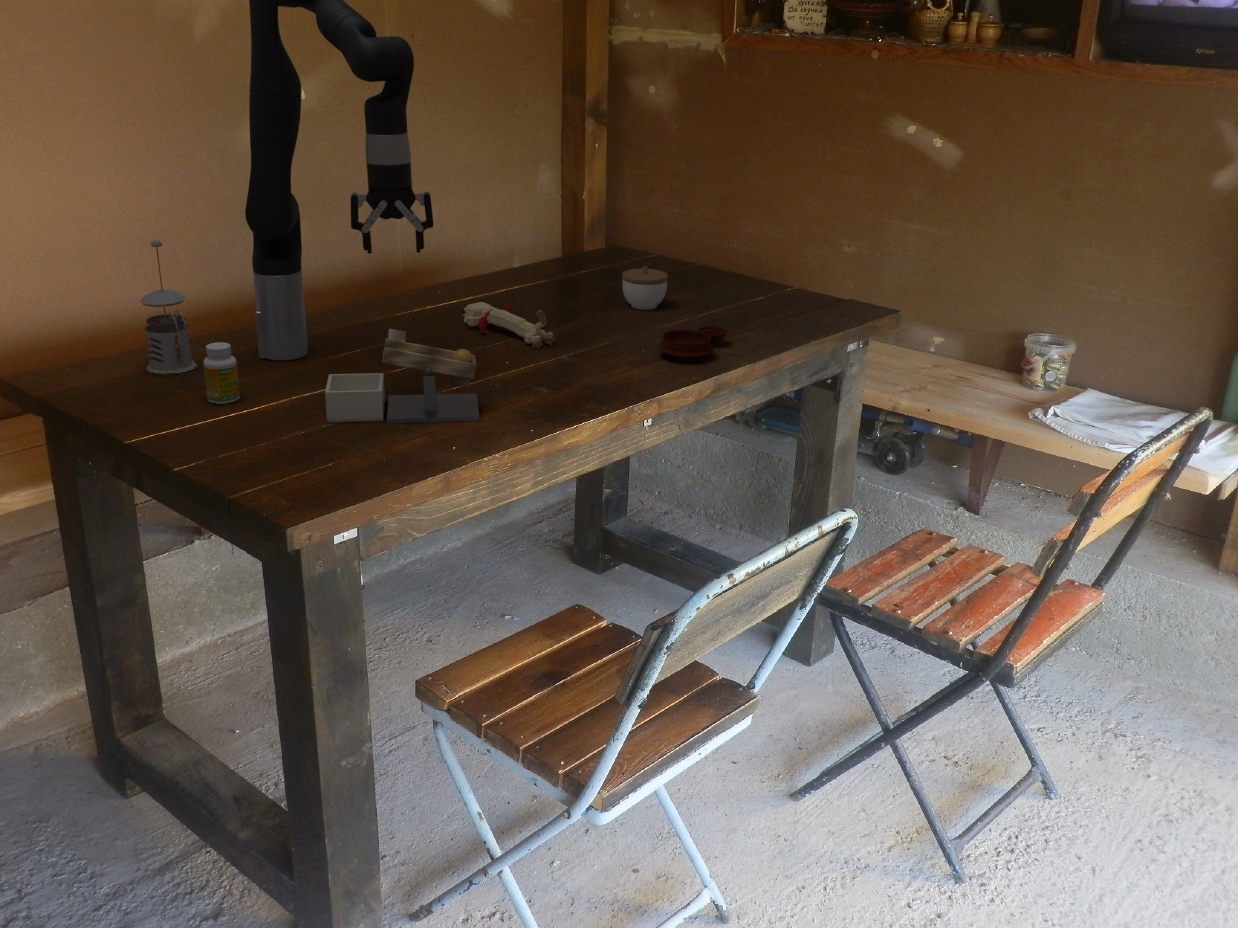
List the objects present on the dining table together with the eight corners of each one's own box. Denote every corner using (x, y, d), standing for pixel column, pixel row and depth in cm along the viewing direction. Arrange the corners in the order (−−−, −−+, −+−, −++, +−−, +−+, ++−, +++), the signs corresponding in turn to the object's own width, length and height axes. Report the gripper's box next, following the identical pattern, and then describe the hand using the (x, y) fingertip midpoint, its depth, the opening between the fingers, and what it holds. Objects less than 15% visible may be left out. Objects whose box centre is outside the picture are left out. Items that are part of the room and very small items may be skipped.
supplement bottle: (222, 407, 214) (216, 352, 210) (200, 400, 217) (194, 346, 213) (246, 398, 219) (241, 344, 215) (225, 392, 222) (219, 339, 218)
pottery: (646, 358, 248) (647, 337, 246) (695, 336, 263) (696, 316, 261) (695, 369, 242) (696, 349, 240) (742, 346, 257) (744, 326, 256)
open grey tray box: (327, 422, 209) (324, 392, 207) (331, 403, 218) (329, 374, 216) (383, 420, 211) (381, 391, 208) (384, 401, 219) (383, 373, 217)
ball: (449, 367, 212) (456, 349, 211) (449, 361, 215) (456, 343, 214) (468, 374, 213) (475, 356, 212) (467, 367, 216) (474, 350, 215)
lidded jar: (674, 305, 285) (676, 266, 281) (651, 315, 277) (653, 275, 273) (636, 297, 290) (637, 259, 286) (612, 307, 282) (613, 268, 278)
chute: (380, 375, 208) (384, 351, 206) (383, 348, 221) (387, 325, 220) (471, 391, 211) (476, 367, 210) (468, 363, 225) (473, 341, 224)
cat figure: (561, 348, 257) (483, 314, 271) (563, 309, 253) (485, 277, 267) (527, 358, 250) (449, 322, 264) (529, 318, 246) (450, 284, 260)
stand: (387, 423, 210) (385, 380, 206) (388, 399, 220) (386, 359, 217) (479, 420, 212) (478, 379, 209) (476, 397, 223) (475, 357, 220)
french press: (183, 356, 239) (169, 232, 230) (211, 371, 232) (197, 243, 222) (135, 366, 233) (118, 238, 223) (162, 382, 226) (146, 250, 216)
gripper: (345, 163, 203) (352, 258, 209) (430, 162, 205) (435, 256, 211) (347, 156, 210) (354, 248, 216) (429, 155, 212) (434, 246, 218)
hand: (394, 252), depth 214 cm, fingers open, 8 cm apart
